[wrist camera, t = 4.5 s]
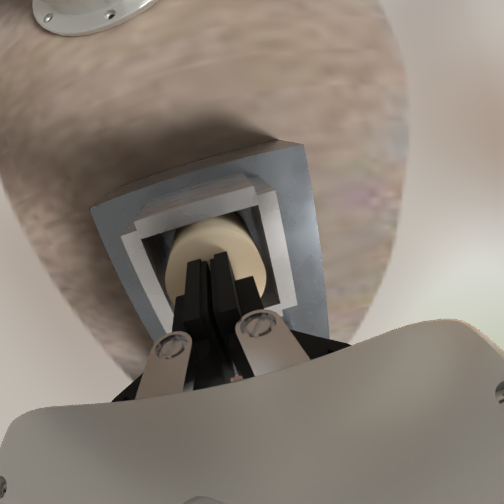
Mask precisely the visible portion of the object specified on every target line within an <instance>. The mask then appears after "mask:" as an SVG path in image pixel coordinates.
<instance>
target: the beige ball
mask: <svg viewBox="0 0 504 504" xmlns="http://www.w3.org/2000/svg"><path fill="white" fill-rule="evenodd" d="M225 251H227V253H228V257H229V260H230V263H231V267H232V270H233V273H234V276H235V280H239V279H242V278H246V277H249V276H253V277H254V280H255V283H256V286H257V289H258V292H259V295H260V298H261V296H262V294H263V292H264V289H265V285H266V271H265V267H264V264H263V262H262V259H261V257H260V255H259V252H258V250H257V248H256V245H255V243H254V241H253V238H252V236H251V234H250V232H249V229H248V227H247V225H246V224H245V222H244V221H243V220H242V219H241V218H240V217H239V216H238V215H237V214H235V213H234V212H230V213H227V214H223V215H219V216H216V217H212V218H209V219H206V220H202V221H199V222H195V223H192V224H189V225H185V226H182V227H179V228H177V229H176V232H175V235H174V239H173V243H172V248H171V252H170V256H169V260H168V265H167V269H166V275H165V285H166V290H167V293H168V295H169V297H170V299H171V301H172V302H173V304H174V305H175V299H176V297H177V296H180V295H184V293H185V282H186V271H187V262H190V261H193V260H197V259H201V261H207V264H208V266H209V269H210V259H213V258H214V254H218V253H221V252H225Z"/></svg>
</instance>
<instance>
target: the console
mask: <svg viewBox="0 0 504 504" xmlns="http://www.w3.org/2000/svg"><path fill="white" fill-rule="evenodd" d="M89 209H90V212H91V215H92V217H93V220H94V222H95V225H96V227H97V230H98V232H99V234H100V237H101V239H102V241H103V244H104V246H105V248H106V251H107V253H108V255H109V257H110V260H111V262H112V264H113V266H114V268H115V270H116V272H117V275H118V277H119V279H120V281H121V283H122V285H123V287H124V289H125V291H126V293H127V295H128V297H129V299H130V300H131V302H132V304H133V306H134V308H135V310H136V312H137V314H138V315H139V317H140V319H141V321H142V323H143V324H144V326H145V328H146V330H147V332H148V333H149V335H150V337H151V338H152V340H153V342H154V343H155V342H156V341H157V340H158V339H159V338H161V337H162V336H163V335H166V334H168V333H171V332H172V325H173V316H174V308H175V305H174V304H173V302H172V301H171V299H170V297H169V295H168V293H167V290H166V285H165V275H166V269H167V265H168V260H169V256H170V252H171V248H172V243H173V239H174V235H175V232H176V229H177V228H179V227H182V226H185V225H189V224H192V223H195V222H199V221H202V220H206V219H209V218H212V217H216V216H219V215H223V214H227V213H230V212H234V213H235V214H237V215H238V216H239V217H240V218H241V219H242V220H243V221H244V222H245V224H246V225H247V227H248V229H249V232H250V234H251V236H252V238H253V241H254V243H255V245H256V248H257V250H258V252H259V255H260V257H261V259H262V262H263V264H264V267H265V271H266V285H265V289H264V292H263V294H262V296H261V301H262V304H263V307H264V309H266V310H272V311H274V312H276V313H277V314H278V315H280V317H281V318H282V320H283V321H284V323H285V324H286V325H287V327H288V328H289V329H291V330H295V331H298V332H302V333H306V334H310V335H314V336H318V337H322V338H326V339H329V326H328V314H327V303H326V292H325V283H324V273H323V265H322V257H321V249H320V241H319V234H318V226H317V220H316V213H315V206H314V200H313V194H312V188H311V182H310V176H309V170H308V165H307V160H306V154H305V149H304V144H299V143H293V142H288V141H282V140H277V141H273V142H268V143H264V144H259V145H255V146H251V147H246V148H242V149H238V150H234V151H231V152H227V153H223V154H219V155H215V156H212V157H208V158H205V159H201V160H198V161H194V162H191V163H188V164H184V165H181V166H178V167H175V168H172V169H169V170H166V171H163V172H160V173H157V174H154V175H151V176H148V177H145V178H142V179H139V180H136V181H134V182H131V183H128V184H126V185H123V186H120V187H118V188H115V189H113V190H112V191H111V192H109V193H108V194H107V195H106V196H104V197H103V198H102V199H100V200H99V201H98V202H97V203H95V204H94V205H93V206H91V207H90V208H89ZM233 365H234V363H233ZM234 372H235V377H234V378H230V379H231V382H235V381H239V380H243V377H242V376H239V375H238V372H237V370H236V368H235V365H234Z"/></svg>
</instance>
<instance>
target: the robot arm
mask: <svg viewBox="0 0 504 504" xmlns="http://www.w3.org/2000/svg"><path fill="white" fill-rule="evenodd" d="M157 1H159V0H33V1H32V9H33V15H34V17H35V19H36V21H37V22H38V23H39V24H40V25H41V26H42V27H43V28H44V29H46V30H48V31H50V32H52V33H55V34H58V35H61V36H72V37H75V36H84V35H90V34H94V33H98V32H102V31H105V30H107V29H110V28H112V27H115V26H118V25H120V24H122V23H124V22H126V21H128V20H130V19H132V18H134V17H136V16H137V15H139V14H140V13H142V12H143V11H145V10H147V9H148V8H150V7H151V6H152V5H154V4H155V3H156V2H157ZM113 16H114V17H113ZM111 17H113V18H112V19H111ZM233 363H234V365H235V368H236V370H237V372H238V375H239V376H242V377H243V380H239V381H235V382H231V379H230V378H234V377H235V372H234V365H233ZM0 504H504V351H503V350H502V349H501V348H500V347H499V346H498V345H497V344H496V343H494V342H493V341H492V340H491V339H490V338H489V337H487V336H486V335H485V334H484V333H482V332H481V331H480V330H478V329H477V328H476V327H474V326H472V325H470V324H469V323H466V322H464V321H461V320H457V319H437V320H429V321H423V322H419V323H415V324H410V325H407V326H404V327H401V328H398V329H395V330H392V331H389V332H386V333H384V334H381V335H379V336H376V337H373V338H371V339H368V340H365V341H363V342H360V343H357V344H355V345H349V344H347V343H343V342H338V341H334V340H330V339H326V338H322V337H318V336H314V335H310V334H306V333H302V332H298V331H295V330H291V329H289V328H288V327H287V325H286V324H285V323H284V321H283V320H282V318H281V317H280V315H278V314H277V313H276V312H274V311H272V310H266V309H264V307H263V304H262V301H261V298H260V295H259V292H258V289H257V286H256V283H255V280H254V277H253V276H249V277H246V278H242V279H239V280H235V276H234V273H233V270H232V267H231V263H230V260H229V257H228V253H227V251H225V252H221V253H218V254H214V258H213V259H210V269H209V266H208V264H207V261H201V259H197V260H193V261H190V262H187V271H186V282H185V293H184V295H180V296H177V297H176V299H175V308H174V316H173V325H172V332H171V333H168V334H166V335H163V336H162V337H161V338H159V339H158V340H157V341H156V342H155V343H154V345H153V347H152V349H151V351H150V354H149V357H148V360H147V363H146V366H145V369H144V372H143V374H141V375H140V376H139V377H138V378H137V379H136V380H135V381H134V382H132V383H131V384H130V385H129V386H128V387H127V388H126V389H125V390H123V391H122V392H121V393H120V394H119V395H118V396H117V397H115V398H114V400H113V401H112V402H110V403H98V404H83V405H67V406H52V407H45V408H39V409H36V410H32V411H29V412H27V413H25V414H23V415H21V416H19V417H17V418H16V419H15V420H14V421H12V423H11V424H10V426H9V428H8V430H7V432H6V434H5V437H4V439H3V441H2V445H1V447H0Z"/></svg>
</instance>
